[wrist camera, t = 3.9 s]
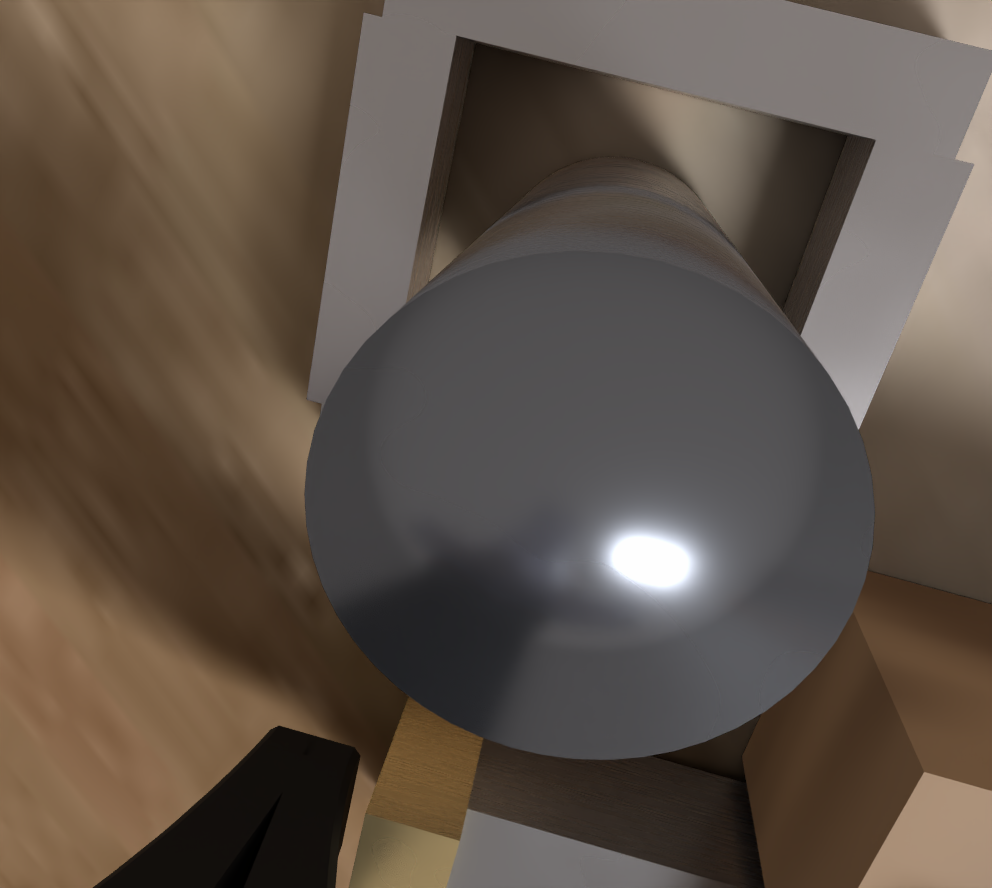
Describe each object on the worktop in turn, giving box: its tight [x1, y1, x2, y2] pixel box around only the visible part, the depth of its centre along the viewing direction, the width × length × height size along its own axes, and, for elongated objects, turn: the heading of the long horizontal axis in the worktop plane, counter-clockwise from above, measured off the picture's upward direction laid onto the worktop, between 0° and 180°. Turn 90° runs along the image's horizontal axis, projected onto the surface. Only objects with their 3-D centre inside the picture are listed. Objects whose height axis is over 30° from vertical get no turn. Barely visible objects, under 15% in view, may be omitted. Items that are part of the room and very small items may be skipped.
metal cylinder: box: [305, 157, 875, 760], centre depth 7 cm, size 3×3×7 cm
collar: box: [307, 0, 992, 430], centre depth 10 cm, size 6×6×1 cm
